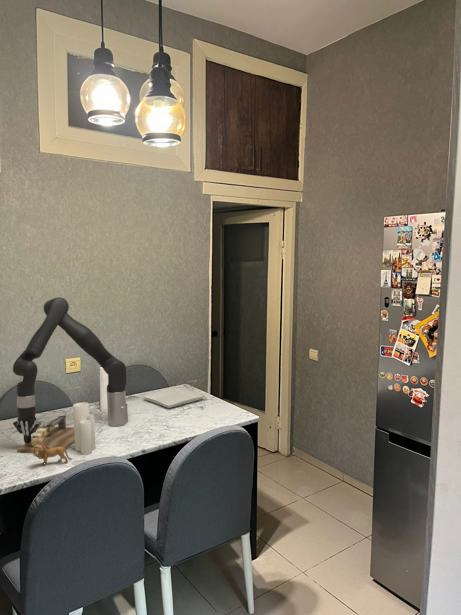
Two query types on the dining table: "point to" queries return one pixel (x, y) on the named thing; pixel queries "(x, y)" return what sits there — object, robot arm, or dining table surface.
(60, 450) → the lion figurine
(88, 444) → the white pillar candles
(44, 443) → the walnut board
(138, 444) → the dining table surface
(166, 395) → the square plate
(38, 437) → the maple link
